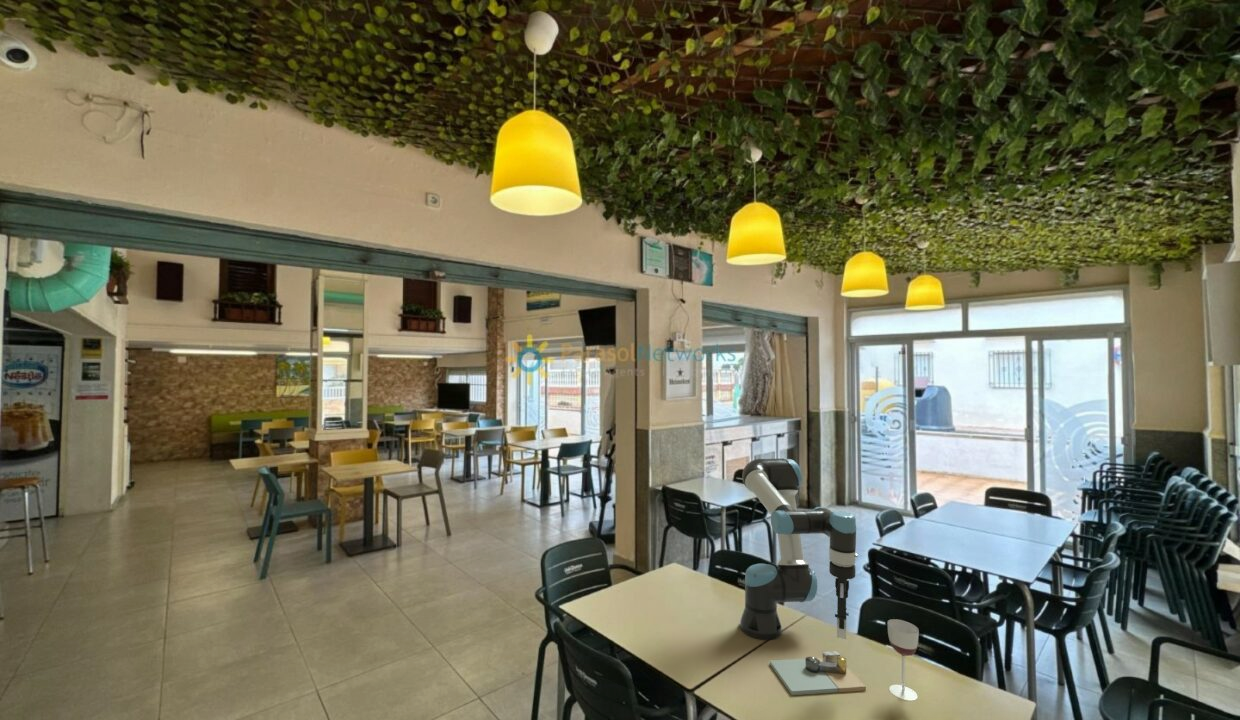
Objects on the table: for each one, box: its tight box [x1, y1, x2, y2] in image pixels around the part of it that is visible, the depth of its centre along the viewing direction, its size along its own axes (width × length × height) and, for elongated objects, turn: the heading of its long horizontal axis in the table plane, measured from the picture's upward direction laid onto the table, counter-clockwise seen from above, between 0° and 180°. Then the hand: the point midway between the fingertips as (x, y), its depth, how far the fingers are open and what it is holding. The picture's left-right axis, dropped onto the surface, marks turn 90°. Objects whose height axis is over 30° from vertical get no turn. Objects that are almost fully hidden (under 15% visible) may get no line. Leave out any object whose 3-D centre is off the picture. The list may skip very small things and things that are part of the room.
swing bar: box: [804, 655, 847, 674], centre depth 159 cm, size 13×4×4 cm, turn 82°
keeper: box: [822, 650, 841, 663], centre depth 163 cm, size 2×5×3 cm, turn 97°
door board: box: [769, 657, 867, 696], centre depth 158 cm, size 16×24×1 cm, turn 97°
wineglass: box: [887, 618, 920, 702], centre depth 151 cm, size 8×9×20 cm
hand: (841, 636), depth 155 cm, fingers closed
